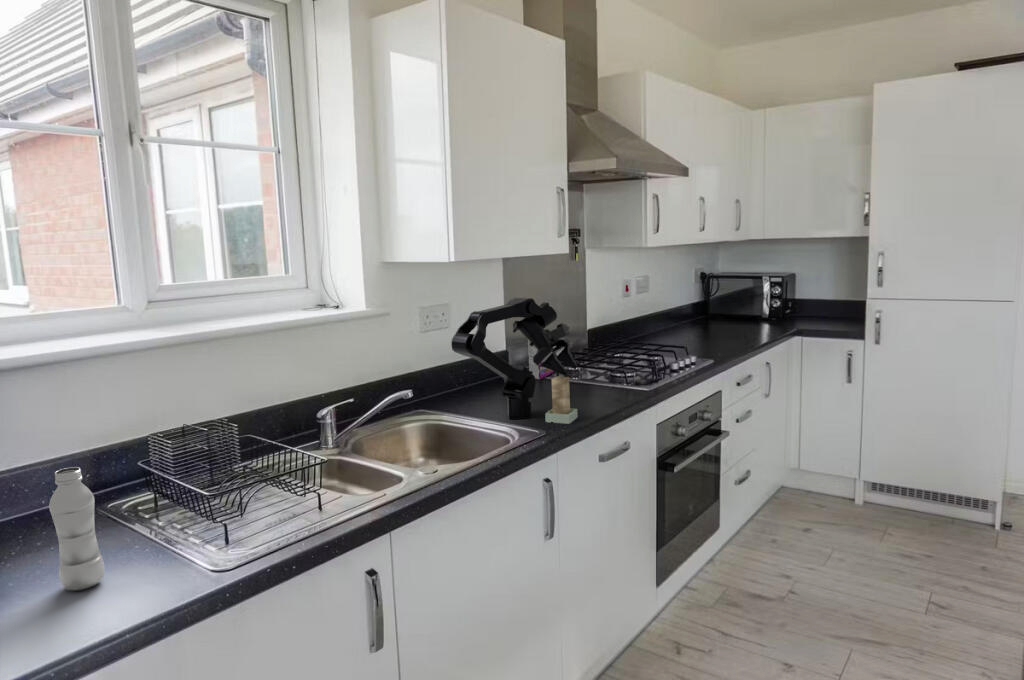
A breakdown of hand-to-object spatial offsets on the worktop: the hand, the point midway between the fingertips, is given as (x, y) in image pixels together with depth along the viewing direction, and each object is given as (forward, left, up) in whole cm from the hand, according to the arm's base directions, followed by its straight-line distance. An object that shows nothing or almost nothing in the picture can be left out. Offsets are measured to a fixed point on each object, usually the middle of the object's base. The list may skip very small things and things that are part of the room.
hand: (571, 371), depth 210 cm
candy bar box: (0, +61, -14) cm, 62 cm away
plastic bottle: (-100, -86, -14) cm, 133 cm away
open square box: (-4, -4, -14) cm, 15 cm away
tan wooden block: (-4, -4, -13) cm, 14 cm away
